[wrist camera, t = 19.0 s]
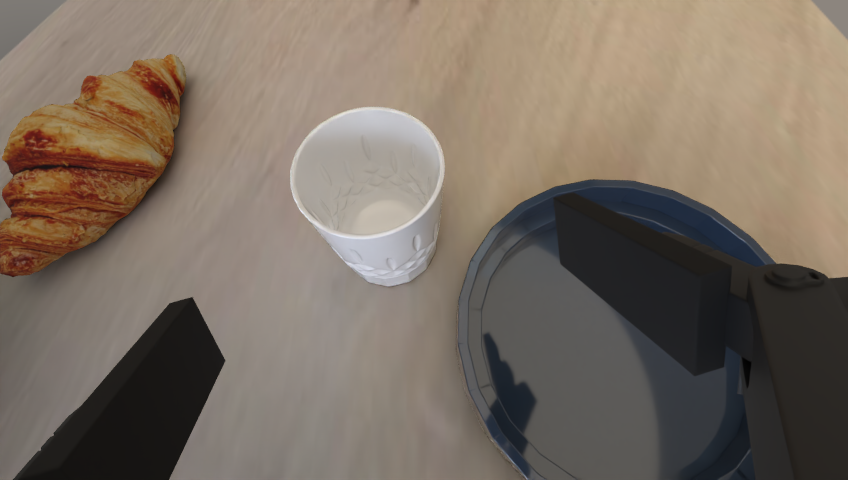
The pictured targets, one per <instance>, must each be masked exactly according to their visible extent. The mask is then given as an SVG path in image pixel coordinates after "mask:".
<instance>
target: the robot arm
mask: <svg viewBox="0 0 848 480" xmlns="http://www.w3.org/2000/svg"><path fill="white" fill-rule="evenodd" d="M553 201H554V210H555V220H556V229H557V238H558V248H559V257H560V264H561V265H562V266H563V267H564V268H566V269H567V270H568V271H569V272H570V273H572V274H573V275H574V276H575V277H576V278H578V279H579V280H580V281H581V282H582V283H584V284H585V285H586V286H587V287H588V288H590V289H591V290H592V291H593V292H594V293H596V294H597V295H598V296H599V297H600V298H602V299H603V300H604V301H605V302H606V303H608V304H609V305H610V306H611V307H612V308H613V309H615V310H616V311H617V312H618V313H619V314H621V315H622V316H623V317H624V318H625V319H627V320H628V321H629V322H630V323H631V324H633V325H634V326H635V327H636V328H637V329H639V330H640V331H641V332H642V333H643V334H645V335H646V336H647V337H648V338H649V339H651V340H652V341H653V342H654V343H655V344H657V345H658V346H659V347H660V348H661V349H663V350H664V351H665V352H666V353H667V354H668V355H670V356H671V357H672V358H673V359H674V360H676V361H677V362H678V363H679V364H680V365H682V366H683V367H684V368H685V369H686V370H688V371H689V372H690V373H691V374H692V375H694V376H698V375H701V374H704V373H707V372H710V371H714V370H717V369H720V368H723V367H724V363H725V350H726V346H727V347H728V348H730V349H731V350H733V351H734V352H736V353H737V354H739V355H740V356H741V358H740V369H739V379H738V389H737V394H741V395H743V396H744V403H745V410H746V417H747V424H748V431H749V438H750V444H751V451H752V458H753V465H754V472H755V479H756V480H848V277H842V278H830V279H829V278H828V277H827V276H826V275H824V274H822V273H820V272H818V271H816V270H814V269H810V268H806V267H802V266H798V265H789V264H767V265H763V266H758V267H755V266H753V265H751V264H748V263H746V262H744V261H741V260H739V259H737V258H735V257H732V256H730V255H728V254H725V253H723V252H721V251H719V250H714V249H713V248H712V247H709V246H707V245H705V244H702V245H701V243H700V242H698V241H696V240H693V239H691V238H689V237H687V236H683V235H678V234H673V233H669V232H663V233H660V232H658V231H656V230H654V229H651V228H649V227H647V226H645V225H643V224H641V223H638V222H636V221H634V220H632V219H630V218H628V217H625V216H623V215H621V214H619V213H617V212H615V211H612V210H610V209H608V208H606V207H604V206H602V205H599V204H597V203H595V202H593V201H591V200H589V199H586V198H584V197H582V196H580V195H578V194H576V193H573V192H572V193H568V194H564V195H561V196H557V197H554V198H553ZM224 362H225V359H224V357H223V355H222V353H221V351H220V349H219V347H218V346H217V344H216V342H215V340H214V338H213V336H212V334H211V332H210V330H209V328H208V326H207V324H206V322H205V321H204V319H203V317H202V315H201V313H200V311H199V309H198V307H197V305H196V303H195V301H194V299H193V298H192V297H191V298H187V299H184V300H180V301H177V302H173V303H170V304H169V305H168V306H167V307H166V308H165V309H164V311H163V312H162V313H161V314H160V315H159V316H158V318H157V319H156V320H155V321H154V322H153V323H152V324H151V326H150V327H149V328H148V329H147V330H146V331H145V333H144V334H143V335H142V336H141V337H140V338H139V340H138V341H137V342H136V343H135V344H134V345H133V346H132V348H131V349H130V350H129V351H128V352H127V353H126V355H125V356H124V357H123V358H122V359H121V360H120V362H119V363H118V364H117V365H116V366H115V367H114V368H113V370H112V371H111V372H110V373H109V374H108V375H107V377H106V378H105V379H104V380H103V381H102V382H101V383H100V385H99V386H98V387H97V388H96V389H95V390H94V392H93V393H92V394H91V395H90V396H89V397H88V399H87V400H86V401H85V402H84V403H83V404H82V405H81V406H80V407H79V408H78V409H77V410H76V411H74V412H73V413H72V414H71V415H69V416H68V417H67V419H66V420H65V421H64V422H63V423H62V424H61V425H60V427H59V428H58V429H57V430H56V431H55V432H54V433H53V434H54V436H52V437H50V438H49V439H48V440H47V441H46V443H45V444H44V445H43V446H42V447H41V451H38V452H37V453H36V454H35V455H34V456H33V457H32V459H31V460H30V461H29V462H28V463H27V464H26V465H25V467H24V468H23V469H22V470H21V471H20V472H19V473H18V475H17V476H16V477H15V478H14V479H13V480H169V478H170V476H171V474H172V472H173V470H174V468H175V466H176V464H177V462H178V459H179V457H180V455H181V453H182V451H183V449H184V447H185V445H186V443H187V440H188V438H189V436H190V434H191V432H192V430H193V428H194V426H195V424H196V421H197V419H198V417H199V415H200V413H201V411H202V409H203V407H204V405H205V403H206V400H207V398H208V396H209V394H210V392H211V390H212V388H213V386H214V384H215V381H216V379H217V377H218V375H219V373H220V371H221V369H222V367H223V365H224Z"/></svg>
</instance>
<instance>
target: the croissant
mask: <svg viewBox="0 0 848 480" xmlns="http://www.w3.org/2000/svg"><path fill="white" fill-rule="evenodd" d="M185 82H186V73H185V68H184V66H183V64H182V62H181V60H180V59H179V57H177V56H175V55H172V54H170V55H167V56H166V57H165V58H164V59H146V60H144V61H143V60H137V61H134V62H133V65H132V67H131V68H130V69H129V70H128V71H125V72H122V71H119V72H117V73H115V74H112V75H109V76H106V75H99V76H87V77H86V78H85V79H84V81H83V85H82V88H81V95H80V97H79V98H78V99H76V100H75V101H74V103H73V104H66V105H64V106H61V105H54V104H51V105H48V106H44V107H42V108H40V109H38V110H36V111H34V112H33V113H32V114H31V115H30V116H28V117H24V118H23V119H22V120H21V121H20V123H19V124H18V125H17V127H16V128H15V129H14V130H13V131H12V133H11V135H10V137H9V140H8V143H7V146H6V148H5V149H4V150H5V151H4V154H3V156H2V159H3V160H4V161H5V162H6V163H7V164H8V166H9V169H10V172H11V173H12V174H13V178H12V179H11V180H10V182H9V183H8V184H7V185H6V186H5V187H4V188H3V191H2V196H3V199H4V201H5V202H6V204H7V206H8V207H9V208H10V209H11V212H12V214H11V218H8V219H5V220H4V221H2V222H1V224H0V274H4V275H9V276H12V277H15V276H19V275H21V276H22V275H30V274H32V273H34V272H39V271H40V270H42V269H43V268H45V267H46V266H48V265H49V264H50V263H52V262H53V261H56V260H58V259H59V258H61V257H62V256H64V255H65V254H66V253H68V252H71V251H74V250H78V249H79V248H83V247H85V246H86V245H89V244H90V243H92V242H95V241H96V240H97V239H98V238H99V237H100V236H102V235H104V234H106V232H107V231H108V229H109V228H110V227H111V226H112V225H113V224H114V223H115V222H116V221H117V220H119V219H121V218H123V217H125V216H126V215H128V214H129V213H130V212H131V211H132V210H133V209H134V208H135V207H136V206H137V205H138V204H139V202H140V201H141V200H142V198H143V197H144V196H145V194H146V192H147V190H148V189H149V188H150V187H151V186H152V185H153V184H154V183H155V181H156V180H157V179H158V177H159V176H160V175H162V173H163V171H164V169H165V167H166V165H167V163H168V162H169V161H170V158H171V155H172V153H173V149H174V139H173V138H174V133H173V129H175V128H176V127H177V126H178V121H179V116H180V106H179V105H180V98H179V97H180V96H181V95H182V94H183V93H184V88H185Z"/></svg>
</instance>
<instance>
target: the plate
mask: <svg viewBox="0 0 848 480" xmlns="http://www.w3.org/2000/svg"><path fill="white" fill-rule="evenodd" d="M572 192H573V193H576V194H578V195H580V196H582V197H584V198H586V199H589V200H591V201H593V202H595V203H597V204H599V205H602V206H604V207H606V208H608V209H610V210H612V211H615V212H617V213H619V214H621V215H623V216H625V217H628V218H630V219H632V220H634V221H636V222H638V223H641V224H643V225H645V226H647V227H649V228H651V229H654V230H656V231H658V232H660V233H663V232H669V233H673V234H678V235H683V236H687V237H689V238H691V239H693V240H696V241H698V242H700V243H701V245H702V244H705V245H707V246H709V247H712V248H713V249H714V250H719V251H721V252H723V253H725V254H728V255H730V256H732V257H735V258H737V259H739V260H741V261H744V262H746V263H748V264H751V265H753V266H755V267H758V266H763V265H767V264H776V263H775V262H774V261H773V259H772V258H771V257H770V256H769V255H768V254H767V253H766V252H765V251H764V250H763V249H762V248H761V246H760V245H759V244H758V243H757V242H756V241H755V240H754V239H753V238H751V236H749V235H748V234H747V233H745V232H744V231H743V230H741V229H740V228H739V227H737V226H736V225H734V224H733V223H732V222H730V221H729V220H728V219H726V218H725V217H723V216H722V215H721V214H719V213H718V212H717V211H715V210H714V209H712V208H710V207H708V206H706V205H703V204H701V203H699V202H697V201H695V200H693V199H691V198H688V197H686V196H684V195H682V194H680V193H678V192H676V191H673V190H669V189H665V188H661V187H657V186H653V185H649V184H645V183H640V182H636V181H629V180H595V179H593V180H586V181H581V182H576V183H571V184H566V185H561V186H556V187H553V188H551V189H549V190H547V191H545V192H543V193H541V194H538V195H536V196H534V197H532V198H530V199H528V200H526V201H524V202H522V203H520V204H519V205H517V206H516V207H515V208H514V209H513V210H512V211H511V212H509V213H508V214H507V215H506V216H505V217H504V218H502V219H501V220H500V221H499V222H498V223H497V224H496V225H494V226H493V227H492V229H491V230H490V231H489V233H488V234H487V236H486V237H485V239H484V240H483V242H482V244H481V245H480V247H479V248H478V250H477V251H476V253H475V254H474V256H473V257H472V259H471V261H470V264H469V267H468V271H467V274H466V277H465V280H464V284H463V287H462V290H461V293H460V297H459V301H458V308H457V322H456V356H457V360H458V365H459V369H460V374H461V378H462V382H463V387H464V391H465V394H466V397H467V399H468V401H469V403H470V405H471V407H472V409H473V411H474V412H475V414H476V416H477V418H478V420H479V422H480V424H481V426H482V428H483V430H484V432H485V434H486V435H487V437H488V438H489V440H490V441H491V442H492V443H493V444H494V445H495V447H496V448H497V449H498V450H499V451H500V452H501V454H502V455H503V456H504V457H505V458H506V459H507V461H508V462H509V463H510V464H511V465H512V467H513V468H514V469H515V470H516V471H517V472H518V473H519V474H520V475H521V476H522V477H524V478H525V479H526V480H756V479H755V472H754V465H753V458H752V451H751V444H750V438H749V431H748V424H747V417H746V410H745V403H744V396H743V395H741V394H737V389H738V379H739V369H740V358H741V356H740V355H739V354H737V353H736V352H734V351H733V350H731V349H730V348H728V347H727V346H726V350H725V363H724V367H723V368H720V369H717V370H714V371H710V372H707V373H704V374H701V375H698V376H694V375H692V374H691V373H690V372H689V371H688V370H686V369H685V368H684V367H683V366H682V365H680V364H679V363H678V362H677V361H676V360H674V359H673V358H672V357H671V356H670V355H668V354H667V353H666V352H665V351H664V350H663V349H661V348H660V347H659V346H658V345H657V344H655V343H654V342H653V341H652V340H651V339H649V338H648V337H647V336H646V335H645V334H643V333H642V332H641V331H640V330H639V329H637V328H636V327H635V326H634V325H633V324H631V323H630V322H629V321H628V320H627V319H625V318H624V317H623V316H622V315H621V314H619V313H618V312H617V311H616V310H615V309H613V308H612V307H611V306H610V305H609V304H608V303H606V302H605V301H604V300H603V299H602V298H600V297H599V296H598V295H597V294H596V293H594V292H593V291H592V290H591V289H590V288H588V287H587V286H586V285H585V284H584V283H582V282H581V281H580V280H579V279H578V278H576V277H575V276H574V275H573V274H572V273H570V272H569V271H568V270H567V269H566V268H564V267H563V266H562V265H561V264H560V257H559V248H558V238H557V229H556V220H555V210H554V201H553V198H554V197H557V196H561V195H564V194H568V193H572Z"/></svg>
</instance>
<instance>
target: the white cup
mask: <svg viewBox="0 0 848 480" xmlns="http://www.w3.org/2000/svg"><path fill="white" fill-rule="evenodd" d="M444 174H445V161H444V155H443V151H442V148H441V146H440V144H439V142H438V140H437V138H436V136H435V135H434V134H433V132H432V131H431V130H430V129H429V128H428V127H427V126H426V125H425V124H424V123H423V122H421V121H420V120H418V119H417V118H415V117H414V116H412V115H410V114H408V113H405V112H403V111H400V110H396V109H392V108H387V107H361V108H355V109H351V110H347V111H344V112H341V113H339V114H336V115H334V116H332V117H330V118H329V119H327V120H325V121H324V122H322V123H321V124H319V125H318V126H317V127H316V128H314V129H313V130H312V131H311V132H310V133H309V134H308V135H307V137H306V138H305V139H304V140H303V142H302V143H301V145H300V146H299V148H298V150H297V152H296V154H295V156H294V159H293V162H292V166H291V172H290V185H291V191H292V194H293V197H294V200H295V202H296V204H297V206H298V208H299V209H300V211H301V212H302V213H303V215H304V216H305V217H306V218H307V219H308V220H309V222H310V223H311V224H312V225H313V226H314V227H315V229H316V230H317V231H318V232H319V233H320V235H321V236H322V237H323V238H324V239H325V241H326V242H327V243H328V244H329V246H330V247H331V248H332V249H333V250H334V251H335V252H336V253H337V254H338V255H339V256H340V257H341V259H342V260H343V261H344V262H345V263H346V264H347V265H348V266H350V267H351V269H352V270H353V271H355V272H356V273H357V274H358V275H360V276H361V277H362V278H363V279H365V280H366V281H367V282H369V283H374V284H379V285H383V286H388V287H389V286H394V285H398V284H403V283H407V282H410V281H412V280H413V279H414V278H416V277H417V276H418V275H419V274H421V273H422V272H423V271H425V270H426V269H427V267H428V265H429V263H430V261H431V259H432V257H433V255H434V253H435V251H436V240H437V237H438V233H439V226H440V218H441V211H442V198H443V185H444Z"/></svg>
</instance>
